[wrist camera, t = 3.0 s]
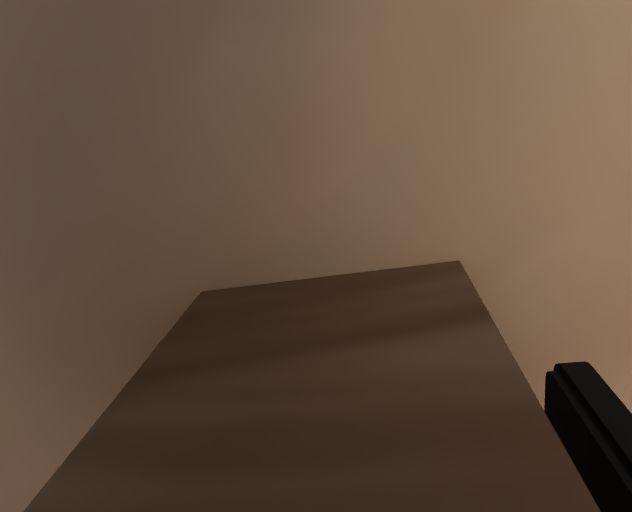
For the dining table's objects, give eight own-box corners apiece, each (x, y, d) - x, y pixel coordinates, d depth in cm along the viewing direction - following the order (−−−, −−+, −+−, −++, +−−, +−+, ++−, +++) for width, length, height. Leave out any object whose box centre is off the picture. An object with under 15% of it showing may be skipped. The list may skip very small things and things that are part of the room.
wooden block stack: (201, 292, 10) (7, 531, 5) (459, 260, 9) (608, 526, 4) (259, 470, 12) (177, 770, 7) (470, 462, 11) (571, 813, 6)
